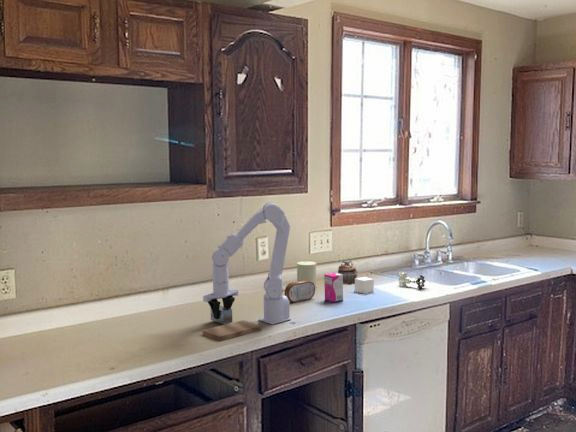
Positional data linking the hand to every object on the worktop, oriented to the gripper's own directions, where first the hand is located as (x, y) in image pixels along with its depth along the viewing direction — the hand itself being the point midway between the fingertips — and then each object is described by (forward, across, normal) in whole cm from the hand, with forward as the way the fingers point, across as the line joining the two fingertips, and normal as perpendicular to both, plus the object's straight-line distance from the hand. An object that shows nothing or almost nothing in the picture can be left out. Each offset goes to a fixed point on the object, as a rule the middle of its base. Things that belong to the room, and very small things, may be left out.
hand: (221, 317), depth 217 cm
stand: (+2, +4, +12) cm, 13 cm away
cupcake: (+2, -86, -15) cm, 87 cm away
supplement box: (+2, -54, +6) cm, 54 cm away
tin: (+2, -44, -4) cm, 44 cm away
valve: (+3, -98, +13) cm, 99 cm away
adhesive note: (+3, -76, +4) cm, 76 cm away
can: (+2, -63, -20) cm, 66 cm away
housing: (+2, 0, 0) cm, 2 cm away
